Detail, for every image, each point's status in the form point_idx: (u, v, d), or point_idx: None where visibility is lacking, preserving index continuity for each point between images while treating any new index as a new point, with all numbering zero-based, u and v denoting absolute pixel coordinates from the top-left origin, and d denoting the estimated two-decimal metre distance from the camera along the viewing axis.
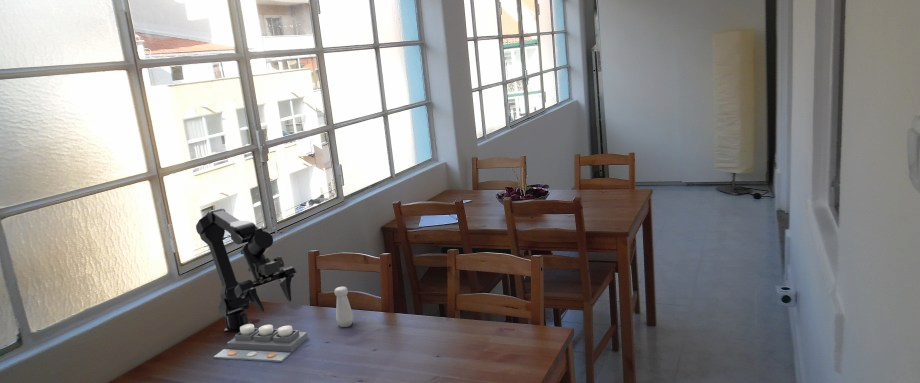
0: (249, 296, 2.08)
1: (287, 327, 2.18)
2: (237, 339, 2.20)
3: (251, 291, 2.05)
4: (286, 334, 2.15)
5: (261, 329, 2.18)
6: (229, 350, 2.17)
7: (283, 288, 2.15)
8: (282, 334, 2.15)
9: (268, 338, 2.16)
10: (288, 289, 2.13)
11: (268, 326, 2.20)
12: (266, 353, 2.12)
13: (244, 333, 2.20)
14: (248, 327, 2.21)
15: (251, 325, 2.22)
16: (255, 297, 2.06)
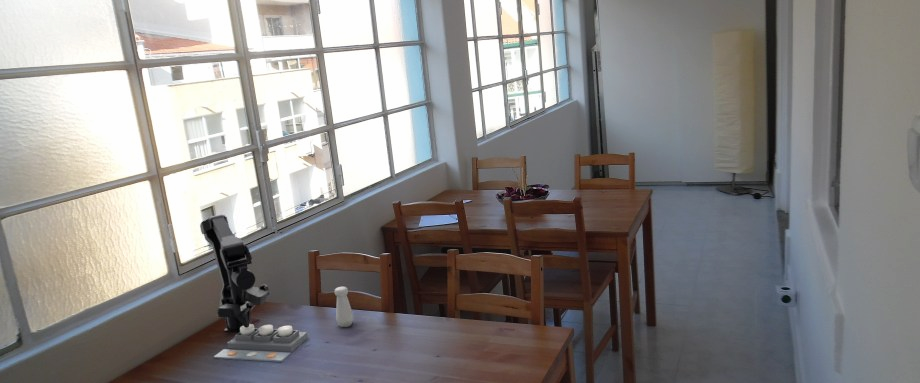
0: None
1: (287, 327, 2.18)
2: (237, 339, 2.20)
3: (246, 311, 2.17)
4: (286, 334, 2.15)
5: (261, 329, 2.18)
6: (229, 350, 2.17)
7: None
8: (282, 334, 2.15)
9: (268, 338, 2.16)
10: (249, 315, 2.21)
11: (268, 326, 2.20)
12: (266, 353, 2.12)
13: (244, 333, 2.20)
14: (248, 327, 2.21)
15: (251, 325, 2.22)
16: (245, 315, 2.19)
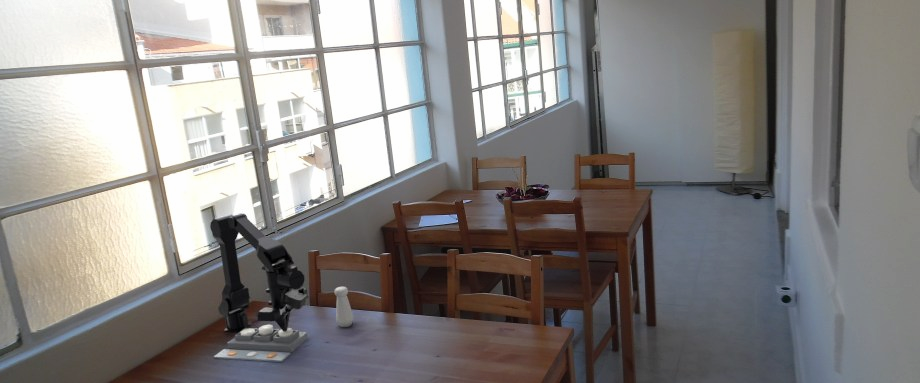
0: None
1: (287, 329, 2.18)
2: (237, 339, 2.20)
3: (285, 315, 2.13)
4: None
5: (261, 329, 2.18)
6: (229, 350, 2.17)
7: None
8: None
9: (268, 338, 2.16)
10: (287, 319, 2.17)
11: (268, 326, 2.20)
12: (266, 353, 2.12)
13: None
14: (249, 332, 2.21)
15: (252, 330, 2.22)
16: (284, 319, 2.15)
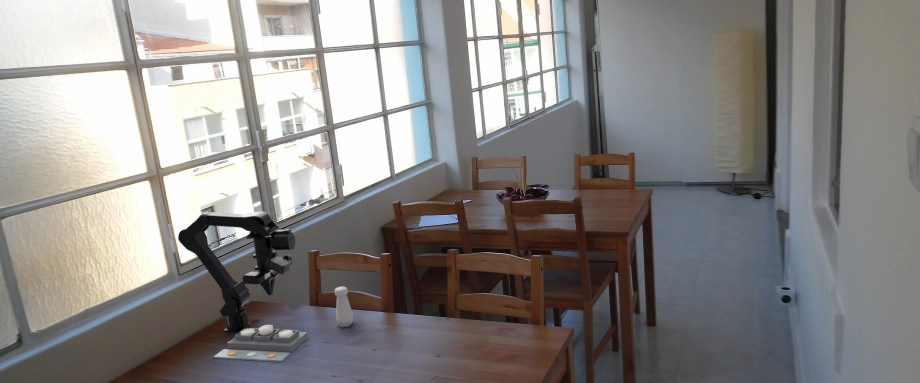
0: None
1: (288, 332, 2.18)
2: (237, 339, 2.20)
3: (270, 279, 2.26)
4: None
5: (261, 329, 2.18)
6: (229, 350, 2.17)
7: None
8: None
9: (268, 338, 2.16)
10: (273, 284, 2.30)
11: (268, 326, 2.20)
12: (266, 353, 2.12)
13: None
14: (249, 332, 2.21)
15: (252, 330, 2.22)
16: (269, 283, 2.28)
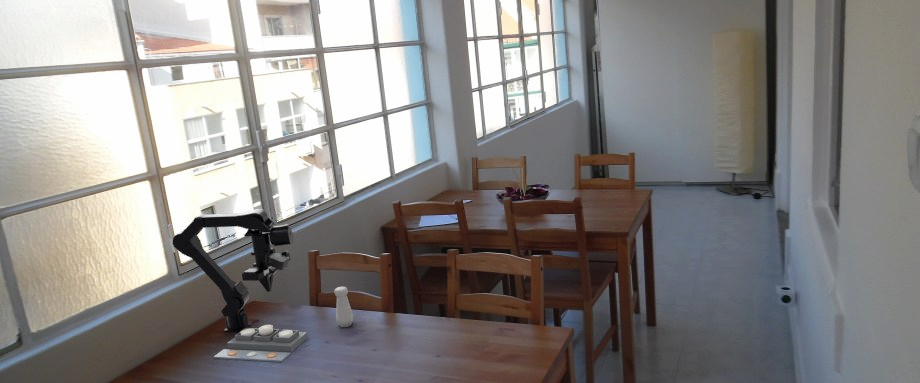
0: None
1: (288, 332, 2.18)
2: (237, 339, 2.20)
3: (269, 275, 2.29)
4: None
5: (261, 329, 2.18)
6: (229, 350, 2.17)
7: None
8: None
9: (268, 338, 2.16)
10: (271, 280, 2.33)
11: (268, 326, 2.20)
12: (266, 353, 2.12)
13: None
14: (249, 332, 2.21)
15: (252, 330, 2.22)
16: (268, 280, 2.30)
